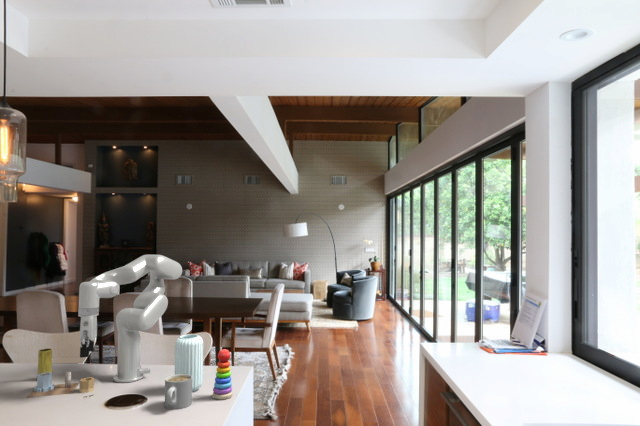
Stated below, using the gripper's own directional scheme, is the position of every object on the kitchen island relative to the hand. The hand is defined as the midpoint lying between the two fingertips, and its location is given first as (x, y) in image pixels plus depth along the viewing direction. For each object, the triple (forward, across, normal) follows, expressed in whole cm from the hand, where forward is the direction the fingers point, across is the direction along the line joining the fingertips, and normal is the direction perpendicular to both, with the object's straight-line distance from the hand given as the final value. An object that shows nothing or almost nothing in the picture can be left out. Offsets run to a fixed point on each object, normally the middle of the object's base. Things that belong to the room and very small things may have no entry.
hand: (86, 354), depth 183 cm
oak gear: (+16, 0, 0) cm, 16 cm away
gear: (+15, +8, +17) cm, 24 cm away
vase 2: (+16, -6, -40) cm, 44 cm away
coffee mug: (+16, -24, -35) cm, 46 cm away
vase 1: (+16, +22, +21) cm, 35 cm away
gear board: (+16, +6, +13) cm, 21 cm away
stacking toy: (+16, -18, -53) cm, 59 cm away
